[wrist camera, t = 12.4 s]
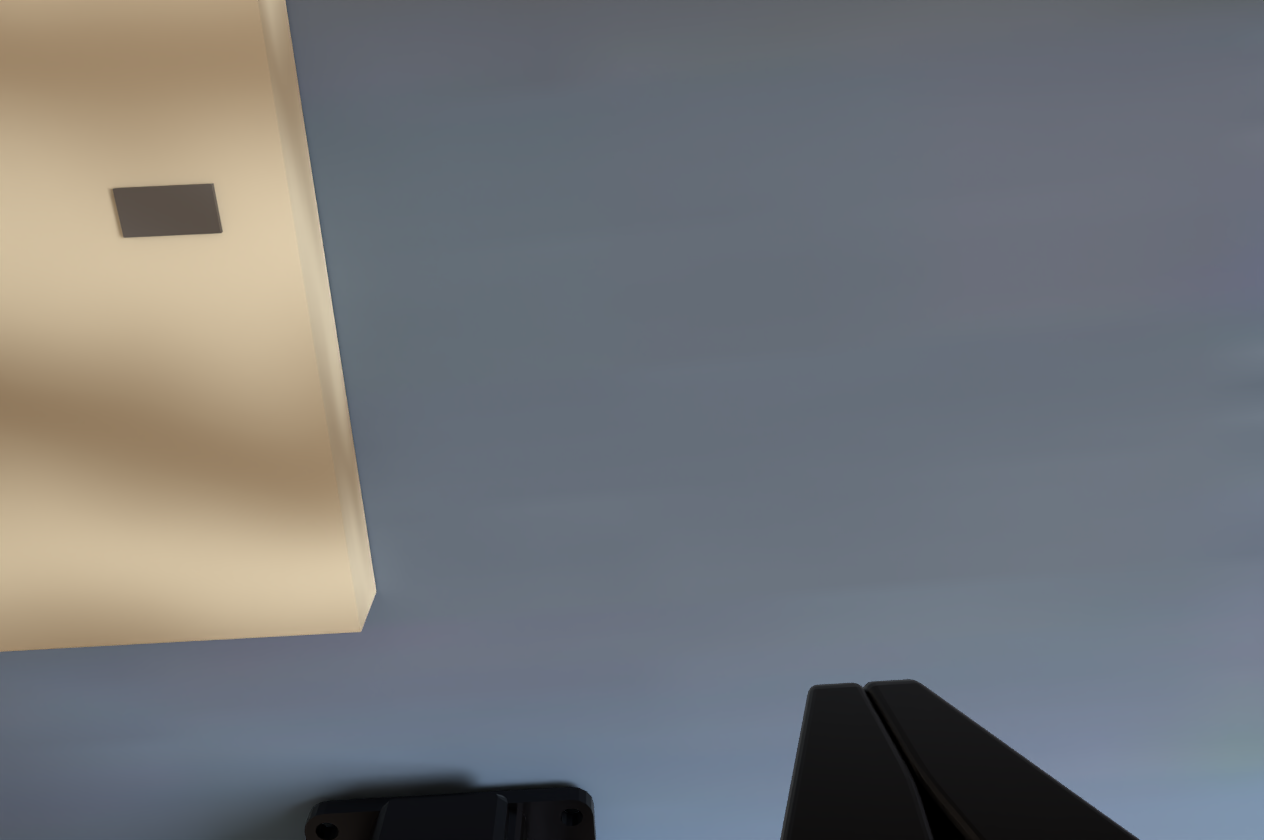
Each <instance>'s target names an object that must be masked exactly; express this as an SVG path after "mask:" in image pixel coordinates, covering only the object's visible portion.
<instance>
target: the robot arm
mask: <svg viewBox="0 0 1264 840" xmlns="http://www.w3.org/2000/svg"><path fill="white" fill-rule="evenodd" d="M570 808H573V809H577V810H579V811H578V812H576V813H567V812H565V811H564V810H566V809H570ZM325 822H326V823H332V824H333V825H335V826H336V827H327V826H326V825H324V824H322V823H325ZM305 836H306V840H596V831H595V816H594V803H593V800H592V797H591V796H590V795H589V794H588V793H587V791H585V790H582V789H580V788H574V787H564V788H547V789H529V790H512V791H495V792H478V793H460V794H443V795H426V796H409V797H391V798H374V799H357V800H339V801H327V802H322V803H319V804H318V805H316V806H314V807H313V809H312V810H311V812H310V814H309V817H308V819H307V822H306V825H305ZM780 840H1139V839H1138V838H1137V837H1135V836H1134V835H1132V834H1131V833H1130V832H1128V831H1127V830H1125V829H1124V828H1123V827H1121V826H1120V825H1118V824H1117V823H1116V822H1114V821H1113V820H1111V819H1110V818H1109V817H1107V816H1106V815H1104V814H1103V813H1102V812H1100V811H1099V810H1097V809H1096V808H1095V807H1093V806H1092V805H1090V804H1089V803H1088V802H1086V801H1085V800H1083V799H1082V798H1081V797H1079V796H1078V795H1076V794H1075V793H1074V792H1072V791H1071V790H1069V789H1068V788H1067V787H1065V786H1064V785H1062V784H1061V783H1060V782H1058V781H1057V780H1055V779H1054V778H1053V777H1051V776H1050V775H1048V774H1047V773H1046V772H1044V771H1043V770H1041V769H1040V768H1039V767H1037V766H1036V765H1034V764H1033V763H1032V762H1030V761H1029V760H1027V759H1026V758H1025V757H1023V756H1022V755H1020V754H1019V753H1018V752H1016V751H1015V750H1014V749H1012V748H1011V747H1009V746H1008V745H1007V744H1005V743H1004V742H1002V741H1001V740H1000V739H998V738H997V737H995V736H994V735H993V734H991V733H990V732H988V731H987V730H986V729H984V728H983V727H981V726H980V725H979V724H977V723H976V722H974V721H973V720H972V719H970V718H969V717H967V716H966V715H965V714H963V713H962V712H960V711H959V710H958V709H956V708H955V707H953V706H952V705H951V704H949V703H948V702H946V701H945V700H944V699H942V698H941V697H939V696H938V695H937V694H935V693H934V692H932V691H931V690H930V689H928V688H927V687H925V686H924V685H923V684H921V683H919V682H917V681H915V680H910V679H906V680H890V681H874V682H868V683H867V684H866V685H865V686H864V687H862V686H860V685H859V684H856V683H840V684H822V685H814V686H813V687H811V688H810V690H809V691H808V695H807V700H806V706H805V711H804V716H803V722H802V727H801V732H800V738H799V743H798V748H797V753H796V759H795V764H794V769H793V775H792V780H791V785H790V791H789V796H788V801H787V806H786V812H785V817H784V822H783V828H782V833H781V838H780Z"/></svg>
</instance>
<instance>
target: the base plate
mask: <svg viewBox="0 0 1264 840" xmlns="http://www.w3.org/2000/svg"><path fill="white" fill-rule="evenodd" d="M375 594H376V586H375V580H374V573H373V567H372V560H371V554H370V547H369V541H368V534H367V528H366V521H365V515H364V508H363V502H362V495H361V489H360V482H359V476H358V469H357V463H356V456H355V450H354V443H353V437H352V430H351V424H350V417H349V411H348V404H347V398H346V391H345V385H344V378H343V372H342V365H341V359H340V352H339V346H338V339H337V333H336V326H335V320H334V313H333V307H332V300H331V294H330V287H329V281H328V274H327V268H326V262H325V255H324V249H323V242H322V236H321V229H320V223H319V216H318V210H317V203H316V197H315V190H314V184H313V177H312V171H311V164H310V158H309V151H308V145H307V138H306V132H305V125H304V119H303V112H302V106H301V99H300V93H299V86H298V80H297V73H296V67H295V60H294V54H293V47H292V41H291V34H290V28H289V21H288V15H287V8H286V2H285V0H0V652H1V651H19V650H37V649H55V648H74V647H92V646H110V645H129V644H147V643H165V642H183V641H202V640H220V639H238V638H257V637H275V636H293V635H311V634H330V633H348V632H361V630H362V628H363V625H364V623H365V620H366V617H367V615H368V612H369V610H370V607H371V604H372V602H373V599H374V597H375Z"/></svg>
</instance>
